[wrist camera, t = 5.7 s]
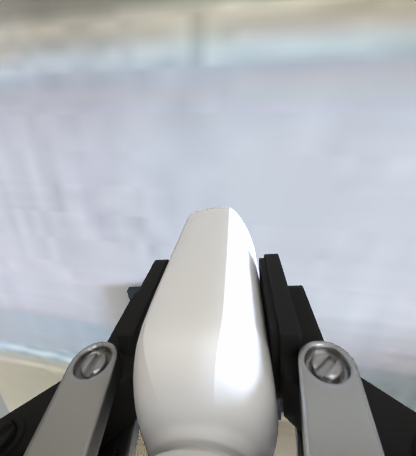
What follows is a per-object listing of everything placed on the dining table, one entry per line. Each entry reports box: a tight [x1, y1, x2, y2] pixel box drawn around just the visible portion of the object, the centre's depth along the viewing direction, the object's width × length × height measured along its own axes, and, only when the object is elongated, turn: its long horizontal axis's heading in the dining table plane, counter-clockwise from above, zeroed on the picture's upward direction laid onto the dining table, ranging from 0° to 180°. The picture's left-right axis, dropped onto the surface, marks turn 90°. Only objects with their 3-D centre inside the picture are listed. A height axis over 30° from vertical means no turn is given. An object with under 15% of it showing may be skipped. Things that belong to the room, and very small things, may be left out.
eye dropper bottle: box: [133, 207, 278, 456], centre depth 7 cm, size 4×6×12 cm
